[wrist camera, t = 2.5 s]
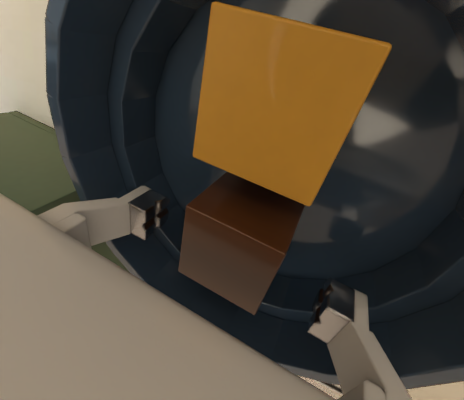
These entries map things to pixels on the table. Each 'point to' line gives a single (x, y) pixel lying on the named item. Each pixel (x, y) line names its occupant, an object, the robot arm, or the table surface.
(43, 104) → the table surface
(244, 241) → the walnut block
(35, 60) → the table surface
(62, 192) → the bin
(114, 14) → the bowl
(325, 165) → the mustard block
